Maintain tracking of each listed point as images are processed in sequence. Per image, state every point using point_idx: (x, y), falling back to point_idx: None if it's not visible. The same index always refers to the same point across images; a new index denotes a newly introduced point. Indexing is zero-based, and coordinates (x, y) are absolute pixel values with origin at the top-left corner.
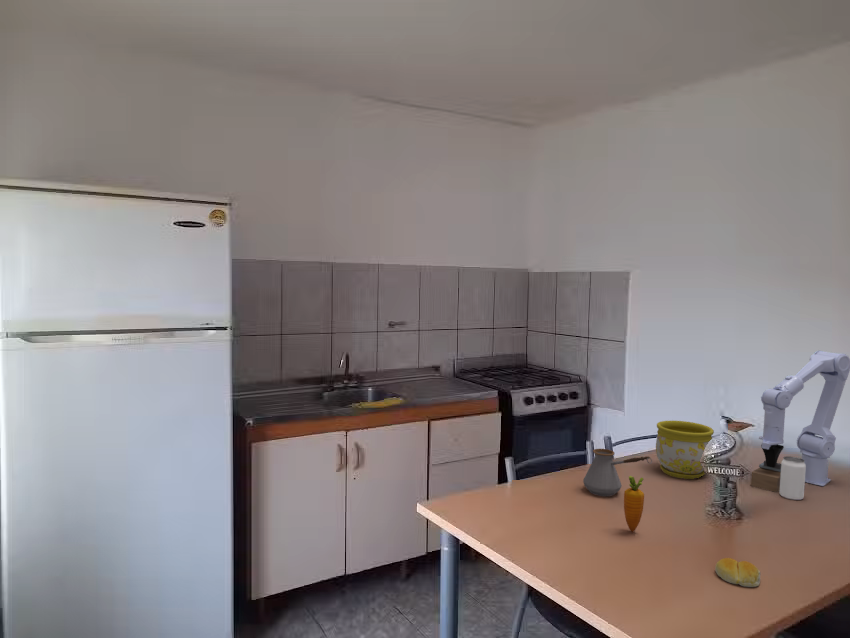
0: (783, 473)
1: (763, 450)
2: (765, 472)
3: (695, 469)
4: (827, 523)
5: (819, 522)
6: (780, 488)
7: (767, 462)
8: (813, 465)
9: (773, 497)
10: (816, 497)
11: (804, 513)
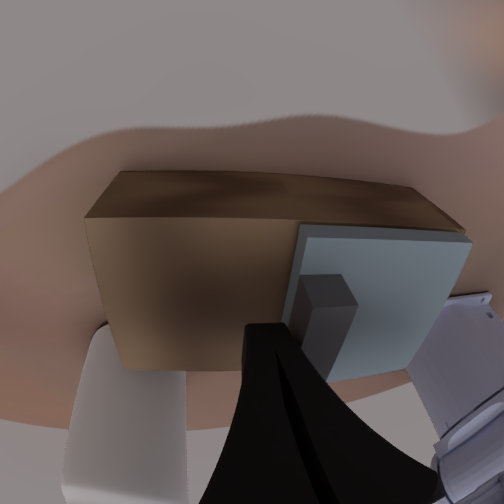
0: (68, 433)
1: (209, 485)
2: (183, 297)
3: None
4: (32, 412)
5: (19, 403)
6: (94, 350)
7: (245, 359)
8: (430, 405)
9: (54, 309)
10: (224, 393)
11: (29, 385)
